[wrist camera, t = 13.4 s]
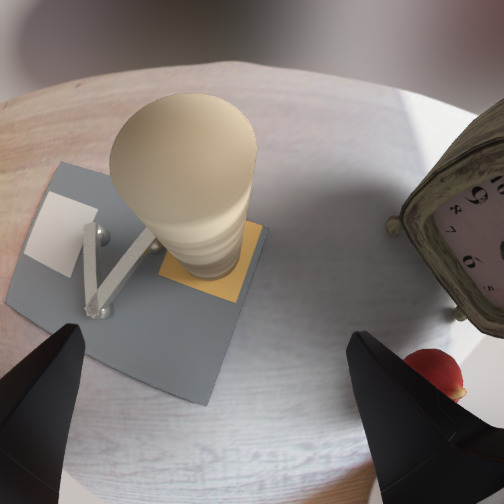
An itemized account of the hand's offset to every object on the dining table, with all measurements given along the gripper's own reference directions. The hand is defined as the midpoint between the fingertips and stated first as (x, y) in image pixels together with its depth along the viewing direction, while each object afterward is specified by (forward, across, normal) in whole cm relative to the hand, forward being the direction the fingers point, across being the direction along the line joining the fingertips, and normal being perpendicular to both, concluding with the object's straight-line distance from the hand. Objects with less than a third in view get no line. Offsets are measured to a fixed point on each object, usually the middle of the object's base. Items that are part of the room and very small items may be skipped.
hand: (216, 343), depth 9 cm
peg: (+13, 0, +4) cm, 13 cm away
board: (+13, +8, +6) cm, 16 cm away
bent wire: (+12, +7, +6) cm, 15 cm away
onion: (+6, -16, +12) cm, 21 cm away
